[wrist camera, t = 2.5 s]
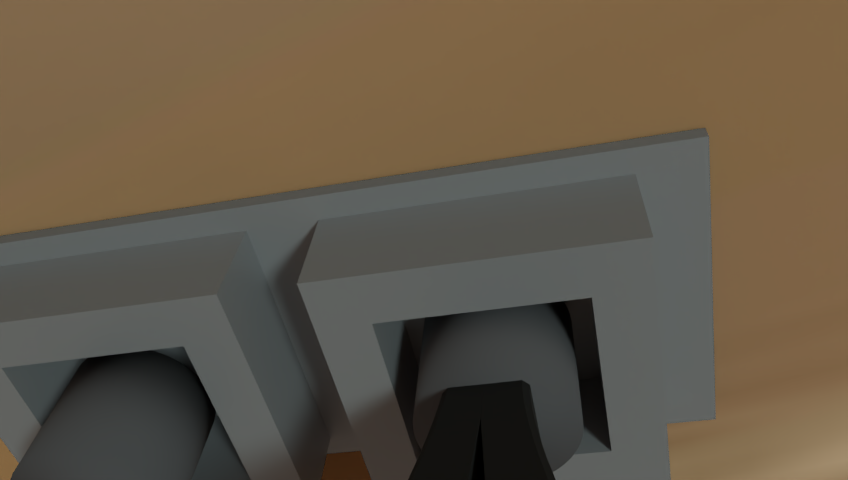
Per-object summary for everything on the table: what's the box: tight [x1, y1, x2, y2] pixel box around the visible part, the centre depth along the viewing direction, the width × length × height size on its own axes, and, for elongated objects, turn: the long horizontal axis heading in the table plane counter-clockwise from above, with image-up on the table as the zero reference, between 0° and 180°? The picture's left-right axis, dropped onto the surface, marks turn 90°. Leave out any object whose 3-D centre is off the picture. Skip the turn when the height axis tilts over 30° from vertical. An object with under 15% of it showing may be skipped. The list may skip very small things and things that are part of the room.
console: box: [0, 128, 716, 480], centre depth 15 cm, size 15×7×2 cm, turn 102°
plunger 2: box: [413, 301, 584, 472], centre depth 14 cm, size 3×3×2 cm
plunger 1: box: [11, 350, 216, 480], centre depth 15 cm, size 3×3×2 cm
